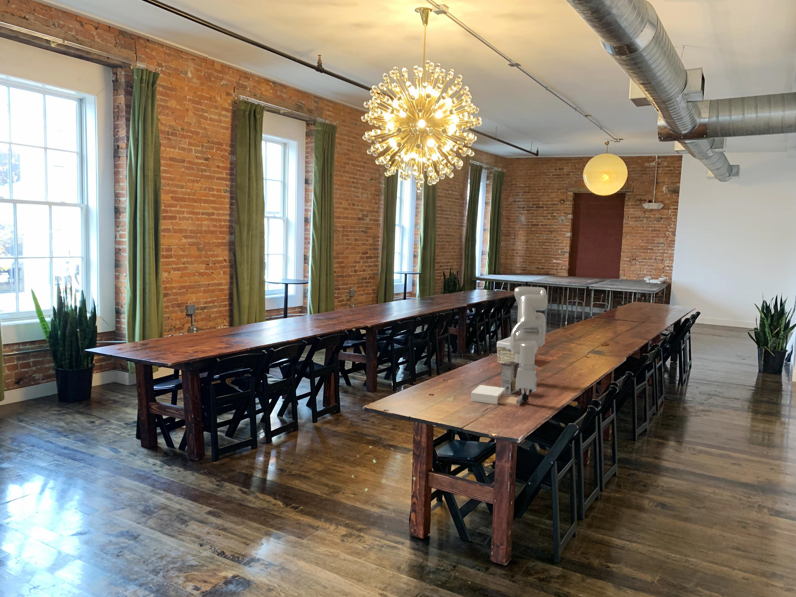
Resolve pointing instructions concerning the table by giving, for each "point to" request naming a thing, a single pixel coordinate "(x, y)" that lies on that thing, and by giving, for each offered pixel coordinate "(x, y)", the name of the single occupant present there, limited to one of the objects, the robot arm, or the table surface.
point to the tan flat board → (510, 400)
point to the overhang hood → (487, 394)
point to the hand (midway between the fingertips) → (525, 401)
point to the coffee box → (509, 376)
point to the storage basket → (505, 351)
